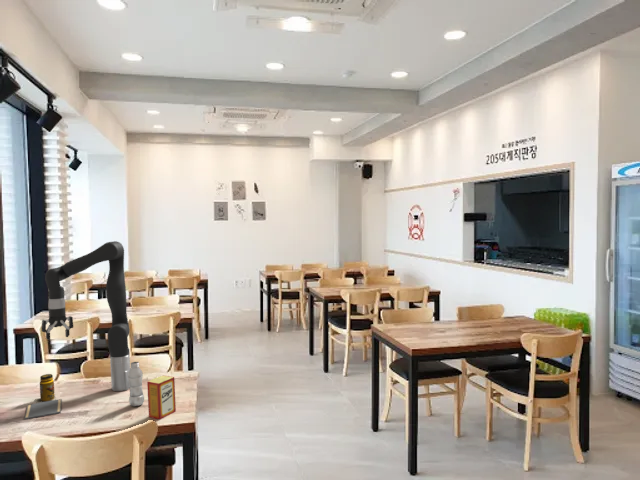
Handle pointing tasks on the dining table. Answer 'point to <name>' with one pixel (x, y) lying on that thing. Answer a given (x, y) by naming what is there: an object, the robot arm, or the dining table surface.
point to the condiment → (46, 389)
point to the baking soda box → (161, 397)
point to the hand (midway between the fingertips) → (58, 338)
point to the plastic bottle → (135, 385)
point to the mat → (43, 409)
